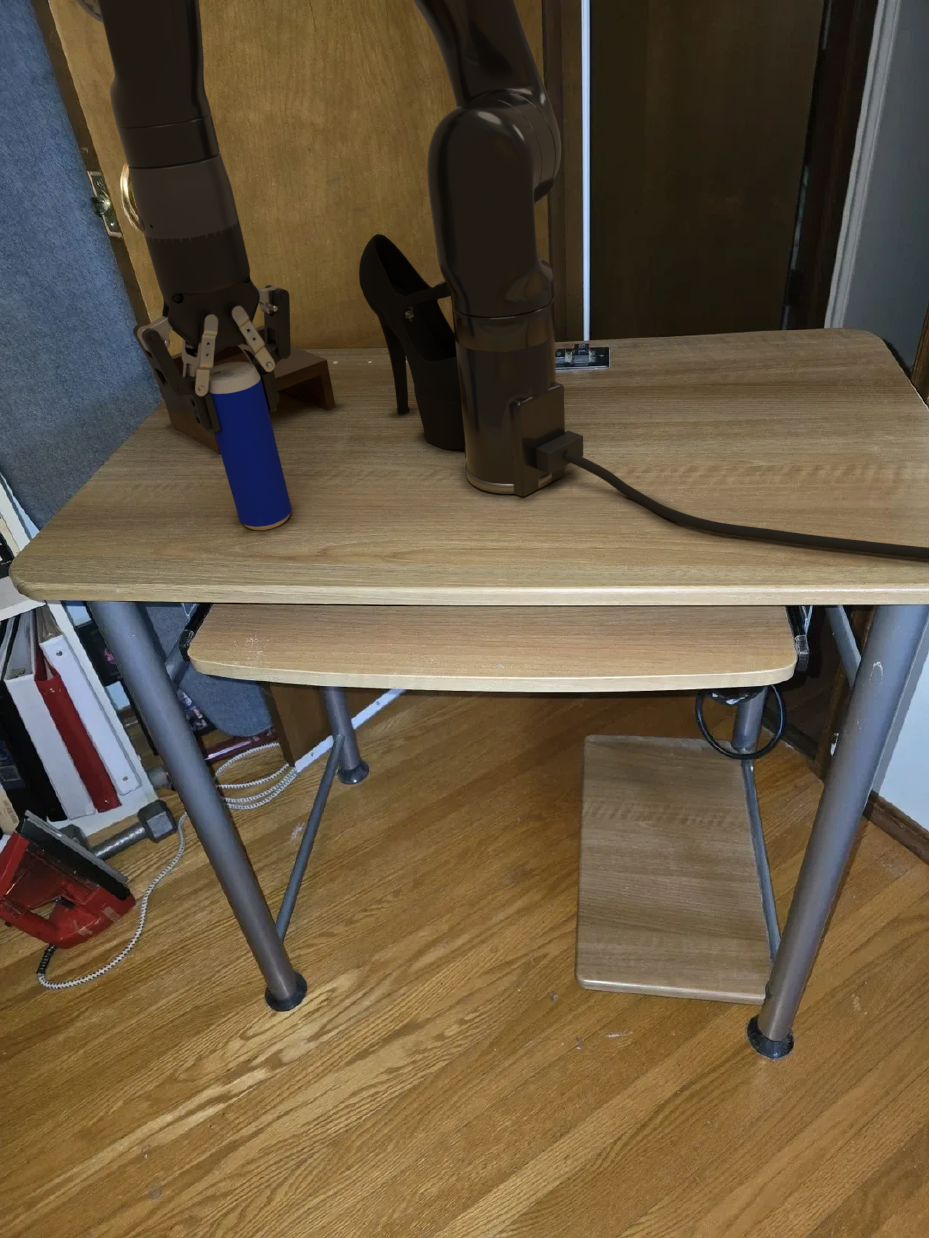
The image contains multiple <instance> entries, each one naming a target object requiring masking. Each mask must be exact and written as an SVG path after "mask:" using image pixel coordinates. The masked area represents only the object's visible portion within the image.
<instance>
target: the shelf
mask: <svg viewBox="0 0 929 1238" xmlns="http://www.w3.org/2000/svg"><path fill="white" fill-rule="evenodd" d="M255 329H256V330H257V332H258V333H259V335H260V336H261V338H262V339H263V341H264V343H265V328H264V324H263V325H259V326H257V327H255ZM290 346H291V353H290V356H289V357H288V358H287V359H281V360H280V361H279V362H278V363H277V364H276V365H275V368H274V375H275V379H276V383H277V388H278V392H279V391H284V392H286V393H289V394H291V395H293V396H295V397H297V398H299V399H302V400H304V401H306V402H309V403H311V404H312V405H315V406H317V407H319V408H322V409H324V410H326V411H331V410H333V409H335V408H337V406H336V401H335V395H334V390H333V385H332V379H331V373H330V369H329V363H328V359H327V358H324V357H321V356H319V355H316V354H314V353H312V352H310V351H307V350H304V349H301V348H299V347H296V346H293V345H291V344H290ZM171 357H172V359H173V361H174V362H175V364H176V366H177V368H178V370H179V372H180V374H181V376H182V377H183V367H184V363H183V360H182V352H179V353H176V354H172V355H171ZM230 362H248V363H250V361H249V360H248V358H247V357H246V355H245V354H244V352H243V351H242V349H241V348H240V347H238V346H228V347H226V348H225V349H223V350H222V351H220V352H217V353H214V361H213V367H215V366H217V365H220V364H224V363H230ZM156 377H157V376H156ZM157 381H158V384H159V388H160V390H161V394H162V397H163V401H164V403H165V407H166V410H167V414H168V418H169V419H170V423H171V426H172V427H174V428H175V429H177V430H179V432H181V433H183V434H185V435H186V436H188V437H190V438H191V439H194V440H195V441H197V442H199V443H200V444H202V445H203V446H205V447H207V448H208V449H210V450H212V451H214V452H215V453H217V454H219V455H221V453H220V449H219V446H218V442H217V439H216V435H215V434H214V435H213V434H211V433H209V432H208V431H206V430H205V429H203V428H201V427H200V426H199V425H198V424H197V423H196V422H195V418H194V415H193V411H192V408H191V404H190V401H189V397H188V395H183V396H178V395H176V394H174V393H173V392H171V391H169V390H167V389H165V388H164V387H163V386H162V384H161V383H160V381H159V379H158V377H157Z"/></svg>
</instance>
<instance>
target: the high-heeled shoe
mask: <svg viewBox="0 0 929 1238" xmlns="http://www.w3.org/2000/svg"><path fill="white" fill-rule="evenodd" d="M358 279H359V280H358V281H359V286H360V289H361V291H362V295H363V297H364V298H365V301H366V303H367V304H368V306H369V308H370V309H371V310H372V311H373V312H374V314H375V315H376V316H377V318H378V322H379V324H380V327H381V330H382V333H383V336H384V340H385V343H386V347H387V351H388V355H389V359H390V364H391V371H392V376H393V382H394V393H395V400H396V413H397V415H400V416H403V415H405V414H408V413H410V407H409V389H408V388H409V387H408V376H407V375H408V372H407V364H408V367H409V370H410V375H411V379H412V384H413V392H414V399H415V402H416V405H417V409H418V410H417V411H418V413H419V417H420V421H421V426H422V430H423V437H424V440H426V441H427V442H428V443H429V444H431V445H432V446H435V447H437V448H440V449H445V450H461V449H464V447H465V441H464V431H463V420H462V410H461V399H460V388H459V378H458V367H457V357H456V346H455V335H454V329H453V328H452V327H451V325H450V323H449V322H448V320H447V318H446V316H445V314H444V313H443V311H442V309H441V306H440V303H439V300H442V299H445V298H447V297H448V298H449V297H451V294H450V290H449V287H448V285H447V283H446V281H445V280H443V281H439V282H438V283H437V284H435V285H434V286H430V284H429V283H427V281H425V279H424V278H423V277H422V276H421V274H420V273H419V272H418V271H417V270H416V268H415V267H414V266H413V264H411V262H410V261H409V259H408V258H407V257H406V255H405V253H403V252H402V251H401V250H400V249H399V247H398V246H397V245H396V244H395V243H394V242H393V241H392V240H391V239H390V238H388V237H387V236H386V235H384V234H381V233H376V234H374V235H373V236H371V238H370V239H369V240H368V241H367V243H366V245H365V247H364V248H363V251H362V253H361V256H360V259H359V268H358Z"/></svg>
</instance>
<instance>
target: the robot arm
mask: <svg viewBox="0 0 929 1238" xmlns="http://www.w3.org/2000/svg"><path fill="white" fill-rule="evenodd" d="M75 2H77V4H78V5H79V6H80V7H81V9H83V11H85V13H87V14H88V15H89V16H90V17H92V18H94V19H95V20H96V21H98V22H100V23H102V24H103V28H104V32H105V36H106V41H107V45H108V50H109V54H110V58H111V63H112V67H113V73H114V74H113V75H114V76H113V79H112V81H111V84H110V86H109V97H110V105H111V110H112V114H113V117H114V123H115V126H116V130H117V133H118V136H119V141H120V143H121V147H122V150H123V154H124V157H125V161H126V164H127V169H128V172H129V177H130V183H131V191H132V195H133V200H134V204H135V207H136V211H137V220H138V223H139V226H140V228H141V230H142V232H143V235H144V239H145V243H146V246H147V250H148V253H149V256H150V260H151V263H152V268H153V270H154V274H155V277H156V281H157V284H158V288H159V290H160V293H161V295H162V300H163V303H162V304H163V305H162V309H161V310H162V311H161V315H162V316H160V317H159V318H157V319H155V320H154V321H152V322H150V323H148V324H147V325H144V324H143V323H139V324H136V325H135V326H134V328H133V330H132V331H133V332H132V333H133V336H134V338H135V339H136V342H137V343H138V345H139V346H140V348H141V350H142V352H143V354H144V356H145V357H146V359H147V361H148V363H149V364H150V367H151V368H152V370H153V372H154V374H155V375H156V377H158V378H157V380H158V379H159V381H160V383H161V384H162V386H163V387H164V388H165V389H167V390H169V391H171V392H173V393H174V394H176V395H178V396H183V395H188V397H189V401H190V404H191V408H192V411H193V415H194V418H195V422H196V423H197V424H198V425H199V426H200V427H201V428H203V429H205V430H206V431H208V432H209V433H211V434H213V435H214V434H216V433H219V432H221V427H220V424H219V420H218V416H217V413H216V409H215V405H214V402H213V398H212V394H211V393H209V392H208V386H209V374H210V370H211V369H212V368H213V361H214V353H217V352H220V351H222V350H223V349H225V348H226V347H228V346H238V347H240V348H241V349H242V351H243V352H244V354H245V355H246V357H247V358H248V360H249V361H250V363H251V364H253V365H254V366H255V368H256V370H257V371H258V373H259V375H260V377H261V381H262V385H263V389H264V394H265V398H266V402H267V406H268V411H269V414H272V413H274V412H276V411H277V410H278V407H277V406H278V405H277V404H279V403H280V394H279V393H280V392H279V391H278V388H277V383H276V379H275V375H274V368H275V365H276V364H277V363H278V362H279V361H280V360H281V359H287V358H288V357H289V356H290V353H291V346H292V345H291V307H290V306H291V305H290V304H291V303H290V302H291V301H290V293H289V291H288V289H284V288H282V287H280V286H276V285H272V284H267V285H265V286H264V287H260V288H259V287H257V286H256V285H255V284H254V282H253V281H252V278H251V267H250V262H249V258H248V254H247V249H246V244H245V240H244V236H243V231H242V227H241V223H240V222H241V221H240V218H239V214H238V210H237V205H236V199H235V196H234V191H233V187H232V183H231V180H230V177H229V174H228V172H227V169H226V166H225V164H224V163H225V162H224V161H223V156H222V154H221V149H220V145H219V141H218V137H217V131H216V128H215V124H214V119H213V114H212V110H211V106H210V105H211V104H210V101H209V99H208V95H207V91H206V87H205V74H204V73H205V68H204V67H205V58H204V45H203V33H202V21H201V19H202V18H201V8H200V0H75ZM412 2H413V3H414V4H415V6H416V7H417V9H418V11H419V13H420V14H421V15H422V17H423V18H424V21H425V22H426V24H427V26H428V28H429V29H430V32H431V33H432V35H433V38H434V40H435V42H436V44H437V47H438V49H439V52H440V55H441V57H442V61H443V63H444V66H445V69H446V73H447V78H448V79H449V84H450V88H451V90H452V94H453V99H454V103H455V108H453V109H451V110H450V111H448V113H446V114H445V115H444V116H443V117H442V118H441V119H440V120H439V122H438V123H437V124H436V127H435V129H434V131H433V132H432V135H431V138H430V141H429V145H428V151H427V159H426V162H427V163H426V173H427V175H426V176H427V191H428V197H429V198H428V199H429V206H430V211H431V212H430V213H431V219H432V226H433V234H434V240H435V247H436V249H435V250H436V254H437V261H438V267H439V269H440V272H441V275H442V277H443V279H444V280H443V281H446V283H447V285H448V287H449V290H450V294H451V296H450V301H451V311H452V312H451V313H452V322H453V332H454V335H455V346H456V357H457V367H458V378H459V388H460V399H461V410H462V420H463V431H464V441H465V447H464V448H463V450H464V457H465V458H464V459H466V460H465V461H466V463H465V470H466V477H467V480H468V481H469V483H470V484H471V485H473V486H474V487H476V488H477V489H480V490H483V491H485V492H489V493H493V494H503V495H505V494H507V495H508V494H509V495H510V494H512V495H513V494H514V495H517V496H519V497H526V496H528V495H530V494H531V493H534V492H535V491H537V490H539V489H541V488H543V487H545V486H547V485H549V484H550V483H552V482H554V481H556V480H558V479H560V478H562V477H564V476H565V475H566V474H567V466H568V465H569V464H572V465H575V466H577V467H579V468H580V469H583V470H585V471H587V472H589V473H591V474H593V475H595V476H596V477H598V478H600V479H601V480H603V481H605V482H606V483H607V484H608V485H610V486H612V487H613V488H614V489H616V490H617V491H618V492H619V493H621V494H622V495H624V496H626V497H627V498H629V499H631V500H632V501H633V502H636V503H637V504H639V505H641V506H642V507H644V508H646V509H647V510H650V511H651V512H653V513H655V514H657V515H658V516H661V517H663V518H666V519H667V520H670V521H673V522H675V523H678V524H681V525H685V526H688V527H691V528H694V529H697V530H702V531H704V532H705V531H706V532H710V533H714V534H719V535H720V534H721V535H724V536H725V535H726V536H733V537H740V538H749V539H755V540H756V539H757V540H765V541H771V542H778V543H786V544H793V545H798V546H805V547H806V546H807V547H815V548H824V549H832V550H841V551H847V552H849V551H850V552H856V553H857V552H858V553H867V554H873V555H883V556H892V557H903V558H909V559H919V560H921V559H922V560H929V547H927V546H917V545H916V546H915V545H907V544H898V543H889V542H888V543H887V542H879V541H868V540H861V539H852V538H842V537H834V536H825V535H819V534H818V535H816V534H808V533H801V532H795V531H793V532H792V531H787V530H779V529H771V528H763V527H756V526H749V525H740V524H732V523H726V522H718V521H715V520H709V519H707V518H706V519H705V518H702V517H698V516H695V515H690V514H687V513H685V512H681V511H680V510H679V511H678V510H676V509H673V508H670V507H668V506H666V505H663V504H662V503H659V502H658V501H657V500H655V499H652V498H651V497H650V496H647V495H646V494H643V492H641V491H639V490H637V489H635V488H634V487H632V486H631V485H629V484H627V483H626V482H625V481H623V480H622V479H621V478H619V477H618V476H617V475H616V474H614V473H613V472H611V471H610V470H608V469H606V468H605V467H603V466H601V465H599V464H598V463H595V462H593V461H592V460H589V459H588V458H586V457H584V435H582V434H581V433H578V432H575V431H571V430H570V429H569V430H566V415H565V414H566V413H565V412H566V411H565V409H566V408H565V385H564V384H563V383H561V382H558V381H557V367H556V366H557V364H556V325H555V298H554V297H555V286H554V285H555V284H554V283H555V282H554V271H553V268H552V266H551V265H550V263H549V262H548V261H547V260H545V259H544V258H541V257H540V255H539V251H538V244H537V243H538V242H537V231H536V229H537V227H536V216H535V205H536V204H538V203H539V202H540V201H542V200H543V199H544V198H545V197H547V195H548V194H549V193H550V191H551V190H552V189H553V187H554V185H555V183H556V181H557V179H558V176H559V173H560V171H561V166H562V156H563V148H562V147H563V145H562V137H561V132H560V128H559V124H558V121H557V117H556V114H555V112H554V109H553V106H552V104H551V103H552V102H551V100H550V97H549V94H548V92H547V89H546V87H545V83H544V82H543V81H544V80H543V79H542V76H541V73H540V70H539V68H538V65H537V63H536V59H535V57H534V54H533V51H532V48H531V46H530V42H529V40H528V37H527V35H526V34H527V33H526V31H525V27H524V26H523V25H524V24H523V22H522V19H521V16H520V12H519V9H518V6H517V3H516V0H412ZM258 307H259V309H260V310H261V312H263V323H264V324H263V325H264V328H265V343H264V341H263V339H262V338H261V336H260V335H259V333H258V332H257V330H256V329H255V328H256V327H255V325H254V324H253V322H254V319H255V317H256V313H257V311H258ZM171 330H172V331H173V332H174V333H175V334H177V335H178V336H179V337H180V338H181V339H182V343H181V344H182V345H181V353H182V360H183V363H184V367H183V377H182V376H181V374H180V372H179V370H178V368H177V366H176V364H175V362H174V361H173V359H172V357H171V356H172V355H171V353H170V352H169V347H170V346H171V339H170V332H171ZM290 345H291V346H290ZM159 381H158V382H159Z"/></svg>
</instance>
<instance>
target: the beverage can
mask: <svg viewBox="0 0 929 1238" xmlns="http://www.w3.org/2000/svg"><path fill="white" fill-rule="evenodd" d="M208 392H209V393H211V394H212V398H213V402H214V405H215V409H216V413H217V416H218V420H219V424H220V427H221V432H219V433H216V434H215V435H216V439H217V442H218V446H219V449H220V453H221V454H220V456H221V460H222V465H223V467H224V470H225V475H226V478H227V481H228V485H229V489H230V492H231V496H232V499H233V503H234V506H235V510H236V513H237V517H238V520H239V522H240V523H241V524H242V525H243V526H245V527H246V528H248V529H249V530H254V531H266V530H270V529H271V530H272V529H275V528H277V527H280V526H281V525H283V524H284V523H285V522H286V521H287V520H288V519H289V517H290V515H291V513H292V504H291V500H290V496H289V491H288V486H287V483H286V478H285V473H284V470H283V465H282V461H281V458H280V453H279V449H278V445H277V440H276V437H275V431H274V428H273V423H272V420H271V415H270V413H269V411H268V406H267V402H266V398H265V394H264V389H263V385H262V381H261V377H260V375H259V373H258V371H257V370H256V368H255V366H254V365H253V364H251V363H248V362H230V363H224V364H220V365H217V366H215V367H213V368H212V369H211V370H210V374H209V386H208Z"/></svg>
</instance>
